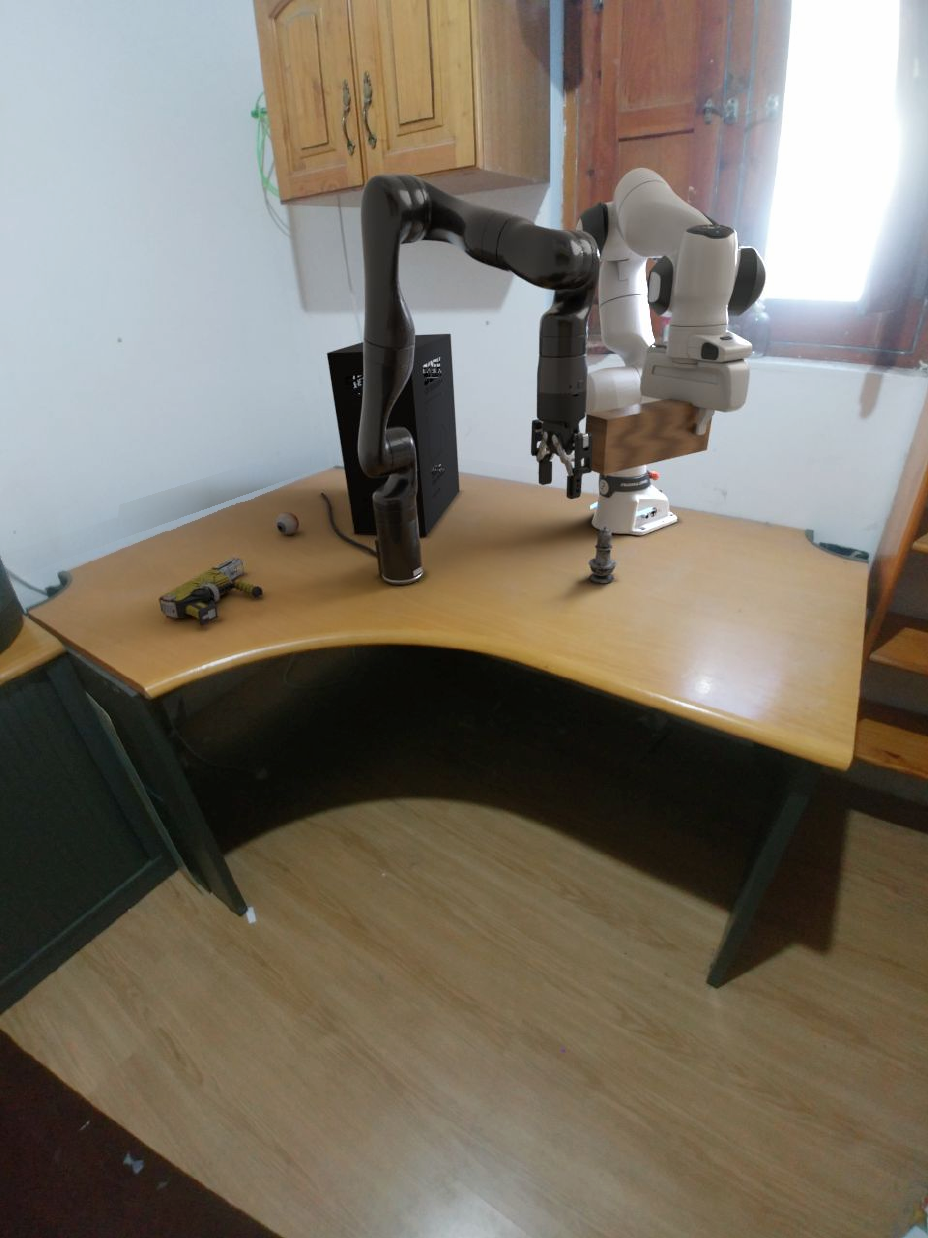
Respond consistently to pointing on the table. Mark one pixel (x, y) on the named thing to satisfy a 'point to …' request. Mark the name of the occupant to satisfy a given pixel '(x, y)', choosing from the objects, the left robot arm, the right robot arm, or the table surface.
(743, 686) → the table surface
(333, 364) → the cardboard box
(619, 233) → the right robot arm
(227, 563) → the toy gun
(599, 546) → the grey chess piece
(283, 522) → the eyeball
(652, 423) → the bar
